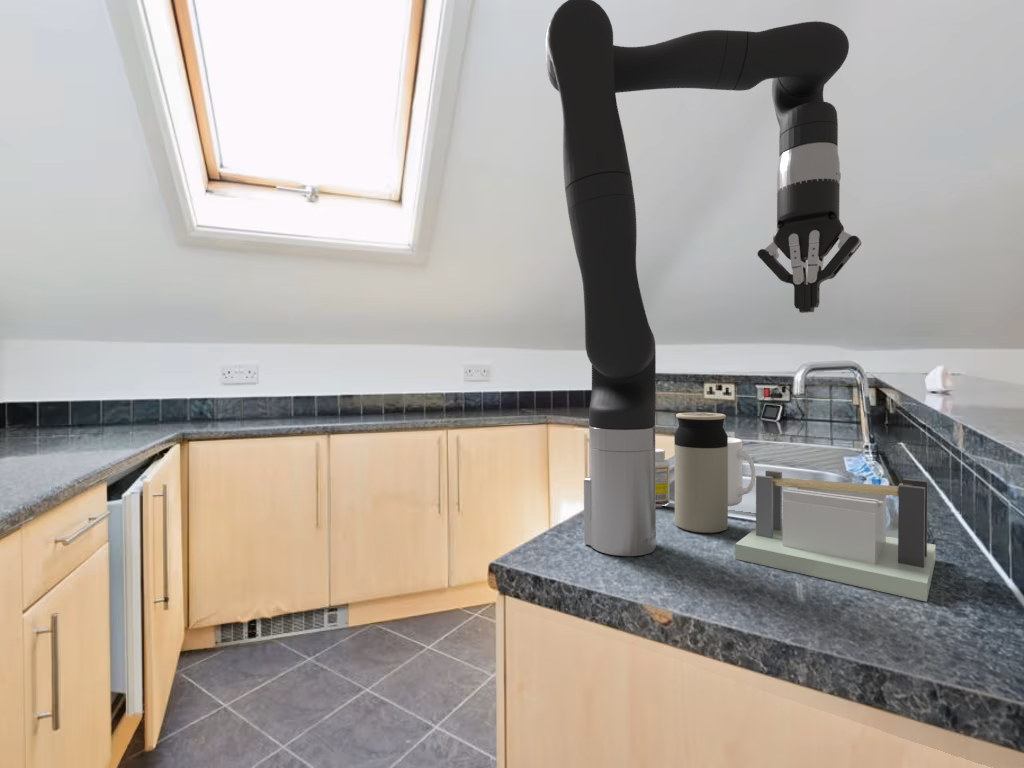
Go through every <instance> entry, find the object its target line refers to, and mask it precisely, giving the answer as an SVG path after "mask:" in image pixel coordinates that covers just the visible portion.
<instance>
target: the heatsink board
mask: <svg viewBox="0 0 1024 768" xmlns="http://www.w3.org/2000/svg"><path fill="white" fill-rule="evenodd" d="M770 475H773V476H775V477H777V478H783V471H776V470H765V475H762V474H761V475H759V474H757V475H755V529H753V530H752V531H750V532H749V533H748V534H746V535H744V537H742V538H741V539H740V540H738V541H737V542H736V543H735V544H734V551H735V552H734V555H735V556H734V559H735V560H738V561H742V562H743V561H744V562H748V563H753V564H756V565H757V564H758V565H760V566H761V565H762V566H766V567H771V568H775V569H779V570H783V571H789V572H792V573H795V574H801V575H806V576H810V577H815V578H819V579H824V580H828V581H831V582H832V581H833V582H837V583H841V584H845V585H850V586H855V587H859V588H863V589H868V590H873V591H877V592H882V593H887V594H890V595H895V596H899V597H904V598H908V599H913V600H917V601H922V602H928V597H929V593H930V588H931V583H932V580H933V574H934V568H935V565H936V557H937V556H936V551H937V548H936V544H933V543H928V509H929V507H928V506H929V505H928V502H929V500H928V499H929V498H928V497H929V495H928V493H929V487H928V486H929V480H925V479H924V480H923V479H917V478H916V479H915V478H905V477H904V478H902V483H904V484H912V486H909V485H899V484H898V486H899V496H898V512H897V513H898V519H897V520H898V522H897V523H898V526H897V528H898V532H897V537H892V536H887V495H881V494H869V493H857V492H845V491H833V490H821V489H808V488H792V487H786V488H785V489H784V490H783V486H773V477H769V476H770ZM803 479H804V480H808V479H805V478H803Z"/></svg>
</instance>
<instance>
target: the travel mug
mask: <svg viewBox="0 0 1024 768" xmlns="http://www.w3.org/2000/svg"><path fill="white" fill-rule="evenodd" d="M675 415H676V416H675V417H676V418H677V422H678V423H677V424H678V427H677V428H676V431H675V432H674V442H673V443H674V448H673V449H674V452H673V453H674V524H675V525H676V526H677V527H678V528H680V529H682V530H684V531H688V532H692V533H697V534H717V533H721V532H723V531H726V530H728V527H729V525H728V524H729V521H728V520H729V519H728V518H729V517H728V515H729V513H728V512H729V510H728V509H729V506H728V434H727V431H726V430H725V428H724V422H725V419H726V418H727V415H726V414H724V413H717V412H696V411H695V412H679V413H677V414H675Z"/></svg>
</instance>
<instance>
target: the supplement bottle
mask: <svg viewBox="0 0 1024 768" xmlns="http://www.w3.org/2000/svg"><path fill="white" fill-rule="evenodd" d="M670 475H671V474H670V462H669V461H668V460H667V459H666V451H665V449H662V448H655V476H656V506H662V505H665V504H667V503H669V502H671V496H670V494H671V493H670V492H671V491H670V489H671V488H670V487H671V486H670V480H671V479H670ZM669 504H670V503H669Z"/></svg>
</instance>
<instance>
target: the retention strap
mask: <svg viewBox="0 0 1024 768" xmlns="http://www.w3.org/2000/svg"><path fill="white" fill-rule="evenodd" d="M769 477H773V486H782V487H786V488H795V489H798V488H808V489H821V490H833V491H845V492H857V493H869V494H881V495H886V496H894V497H895V496H896V497H899V485H909V486H912V484H904V483H903V482H899V484H898V486H897V485H886V484H873V483H859V482H841V481H830V480H829V481H828V480H817V479H816V480H815V479H807V480H804V479H805V478H788V477H782V478H777V477H775V476H773V475H770V476H769Z"/></svg>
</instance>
